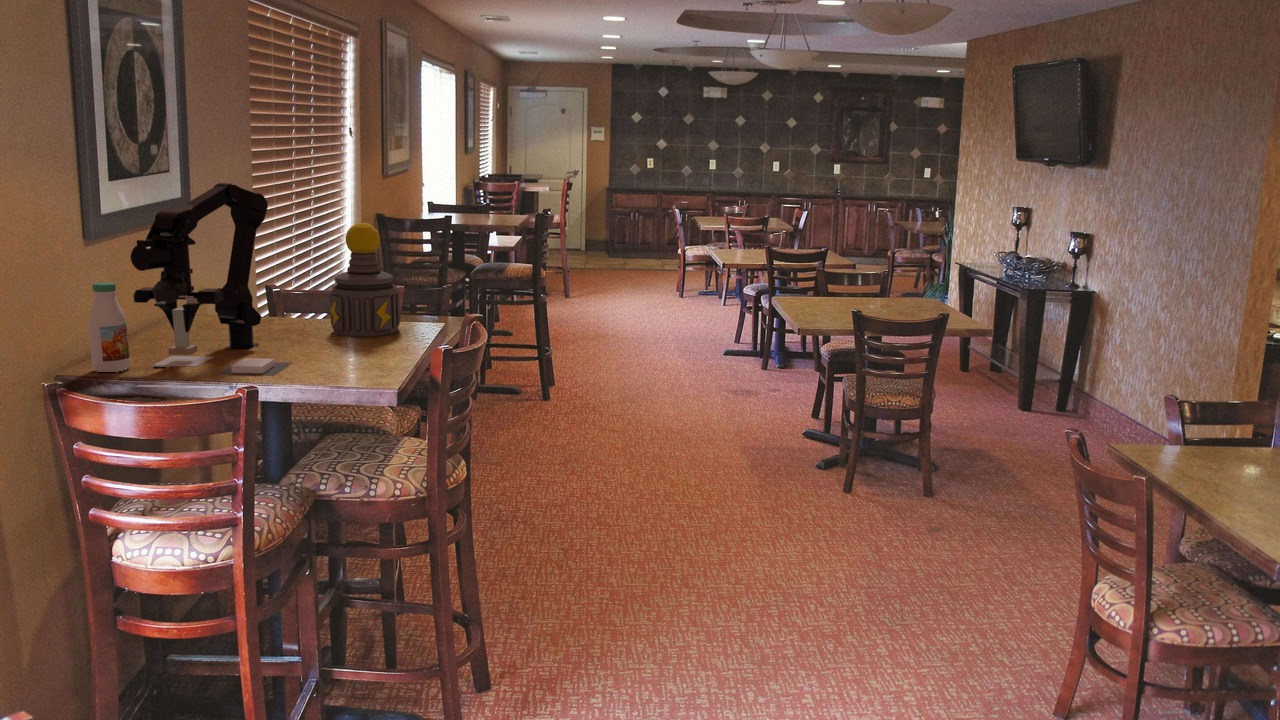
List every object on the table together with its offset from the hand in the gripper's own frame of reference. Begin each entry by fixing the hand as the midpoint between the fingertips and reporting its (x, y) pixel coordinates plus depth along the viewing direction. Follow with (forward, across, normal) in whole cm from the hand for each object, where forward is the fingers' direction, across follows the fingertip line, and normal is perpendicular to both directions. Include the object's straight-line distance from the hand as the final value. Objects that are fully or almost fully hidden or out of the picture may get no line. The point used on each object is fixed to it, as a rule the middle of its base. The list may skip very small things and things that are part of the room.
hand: (181, 331), depth 243 cm
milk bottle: (+8, -13, -8) cm, 17 cm away
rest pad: (+8, 0, 0) cm, 8 cm away
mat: (+8, +19, -6) cm, 21 cm away
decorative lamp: (+8, +32, +43) cm, 54 cm away
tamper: (+5, 0, 0) cm, 5 cm away
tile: (+6, +19, -3) cm, 20 cm away
